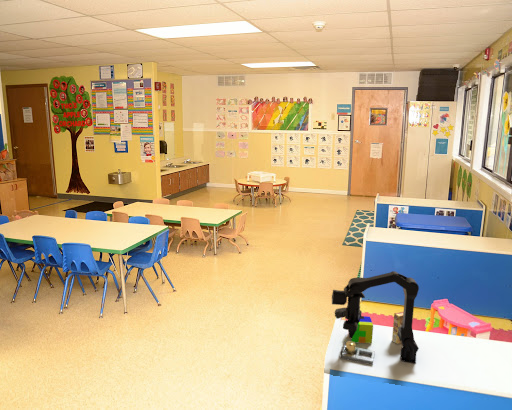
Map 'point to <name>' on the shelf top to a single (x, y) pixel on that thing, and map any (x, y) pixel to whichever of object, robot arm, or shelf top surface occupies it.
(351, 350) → the gold metal cylinder
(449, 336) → the shelf top surface
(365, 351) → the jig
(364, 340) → the puzzle toy
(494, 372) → the shelf top surface
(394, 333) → the candy box
